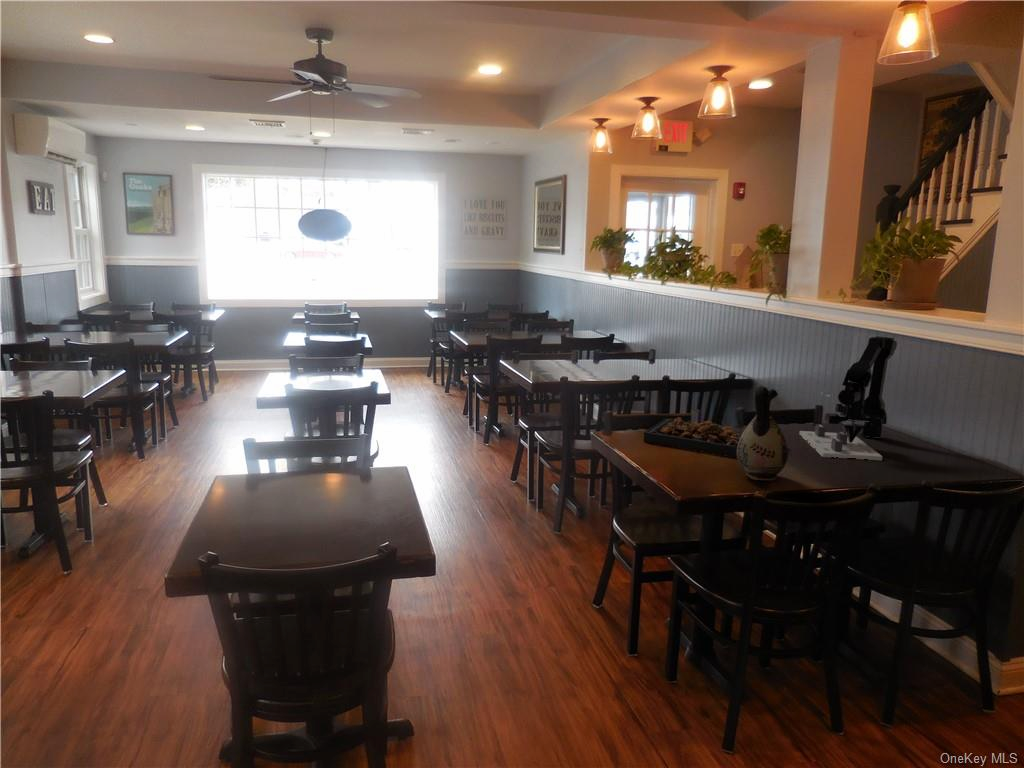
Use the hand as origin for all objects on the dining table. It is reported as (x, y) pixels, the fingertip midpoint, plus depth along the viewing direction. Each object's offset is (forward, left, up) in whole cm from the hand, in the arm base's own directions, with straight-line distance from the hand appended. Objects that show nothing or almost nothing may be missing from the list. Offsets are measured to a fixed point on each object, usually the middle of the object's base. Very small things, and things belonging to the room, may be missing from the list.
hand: (850, 442), depth 266 cm
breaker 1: (+8, -10, 0) cm, 13 cm away
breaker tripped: (+3, 0, 0) cm, 3 cm away
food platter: (+51, +7, -3) cm, 51 cm away
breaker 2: (+8, +10, 0) cm, 13 cm away
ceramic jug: (+42, +43, -2) cm, 60 cm away
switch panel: (+4, 0, -2) cm, 5 cm away
